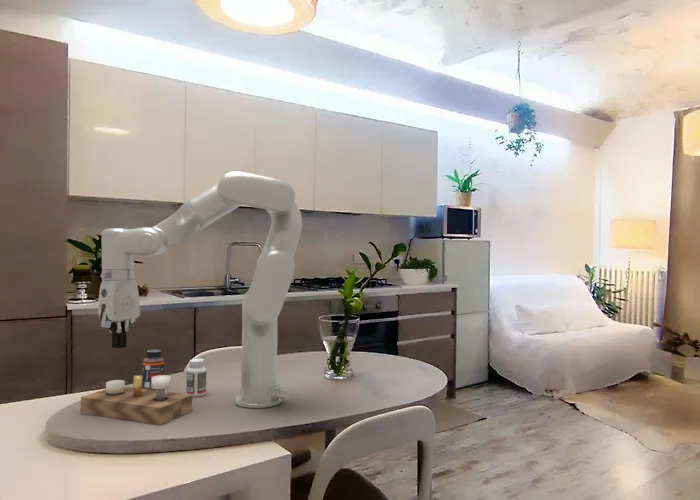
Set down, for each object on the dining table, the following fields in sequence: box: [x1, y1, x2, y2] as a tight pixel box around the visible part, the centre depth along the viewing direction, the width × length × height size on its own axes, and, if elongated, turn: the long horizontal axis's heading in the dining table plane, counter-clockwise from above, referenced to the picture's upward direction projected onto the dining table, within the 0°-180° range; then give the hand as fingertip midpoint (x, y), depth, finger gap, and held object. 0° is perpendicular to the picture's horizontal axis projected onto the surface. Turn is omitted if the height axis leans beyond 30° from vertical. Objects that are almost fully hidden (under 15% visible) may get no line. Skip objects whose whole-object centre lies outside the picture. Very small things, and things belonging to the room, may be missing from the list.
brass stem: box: [133, 374, 142, 397], centre depth 128 cm, size 2×2×5 cm
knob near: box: [151, 374, 171, 401], centre depth 126 cm, size 4×4×6 cm
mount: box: [80, 386, 193, 426], centre depth 128 cm, size 24×12×4 cm, turn 72°
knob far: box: [105, 379, 126, 395], centre depth 130 cm, size 4×4×6 cm
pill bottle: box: [186, 358, 207, 398], centre depth 145 cm, size 5×5×10 cm
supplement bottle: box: [142, 349, 165, 390], centre depth 150 cm, size 6×6×11 cm
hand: (119, 347), depth 131 cm, fingers closed
